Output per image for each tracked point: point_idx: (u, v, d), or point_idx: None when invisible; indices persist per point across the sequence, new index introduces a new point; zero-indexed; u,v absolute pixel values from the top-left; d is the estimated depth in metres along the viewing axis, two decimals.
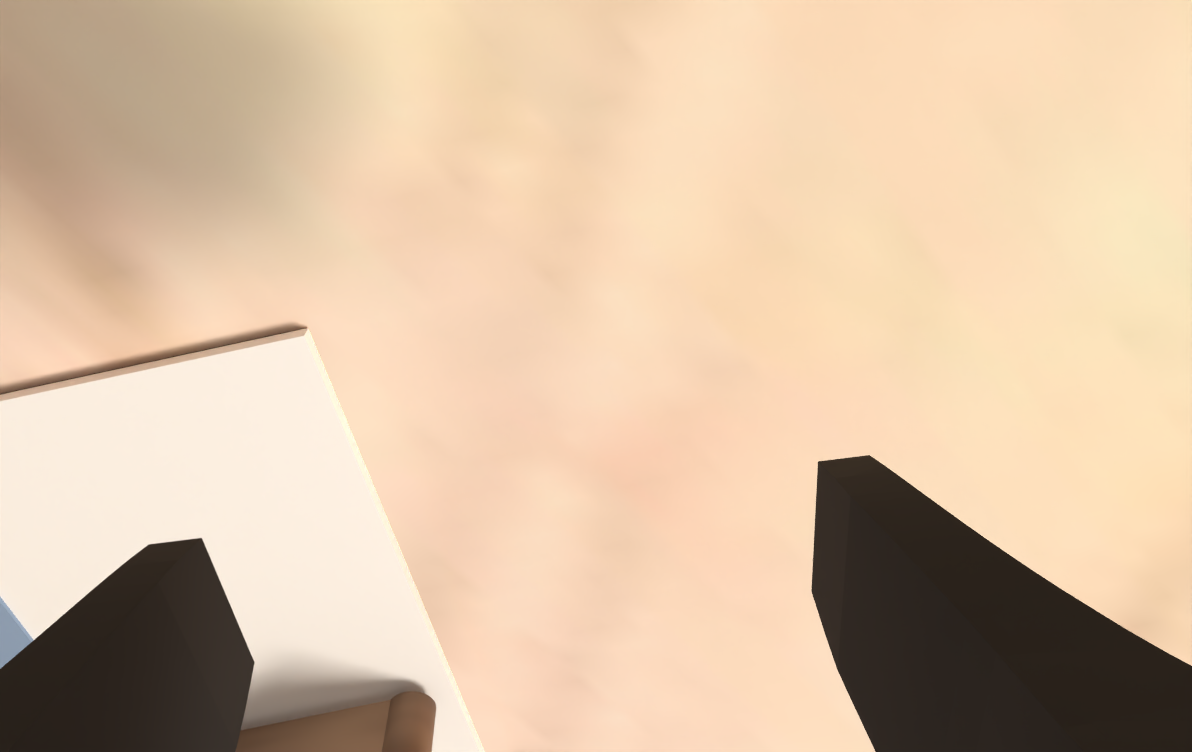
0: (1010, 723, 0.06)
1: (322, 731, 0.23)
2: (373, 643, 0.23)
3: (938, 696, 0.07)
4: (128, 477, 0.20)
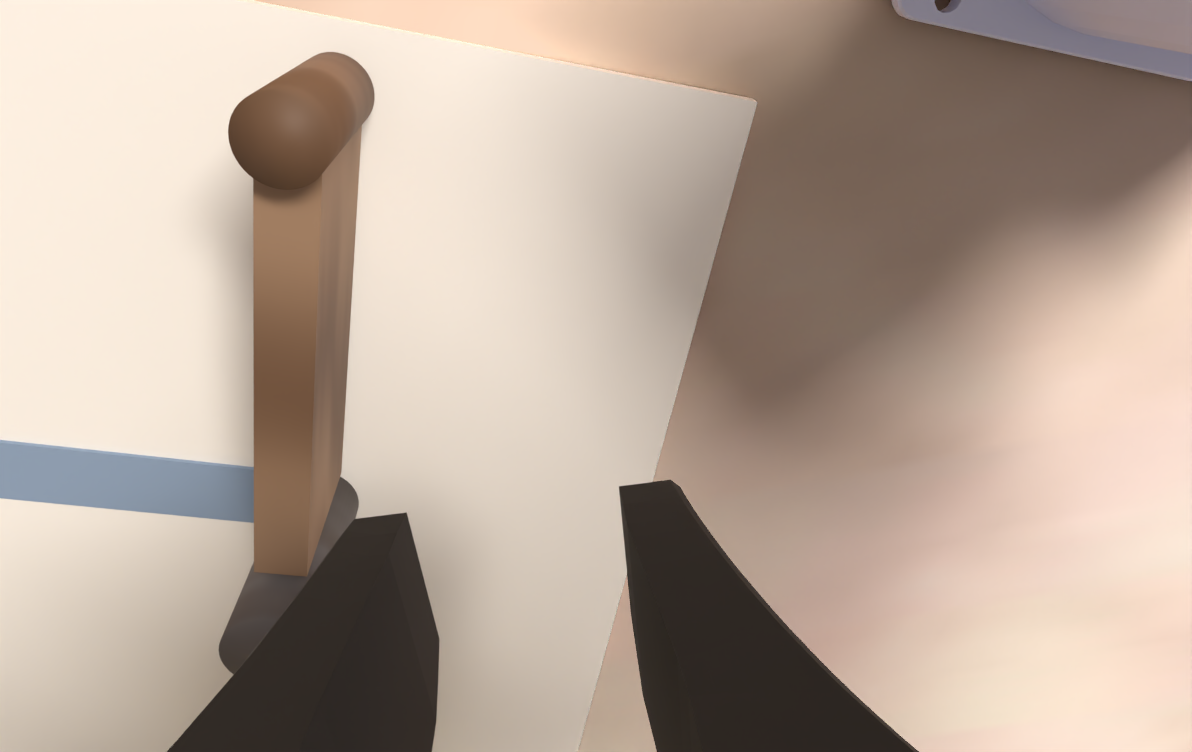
0: None
1: None
2: (206, 87, 0.15)
3: (677, 732, 0.07)
4: None
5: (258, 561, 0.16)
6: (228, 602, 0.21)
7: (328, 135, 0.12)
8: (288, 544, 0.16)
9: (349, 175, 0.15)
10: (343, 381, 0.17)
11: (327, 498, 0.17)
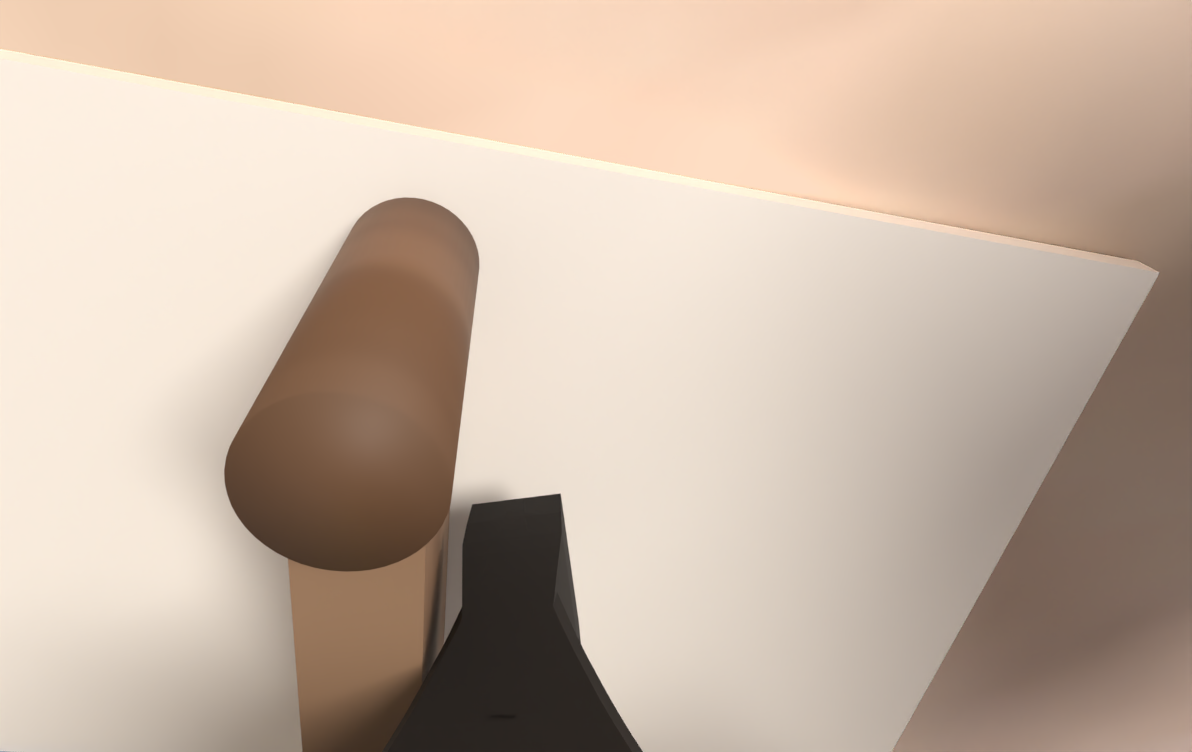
0: None
1: None
2: (265, 258, 0.09)
3: None
4: None
5: None
6: None
7: (446, 465, 0.05)
8: None
9: None
10: None
11: None
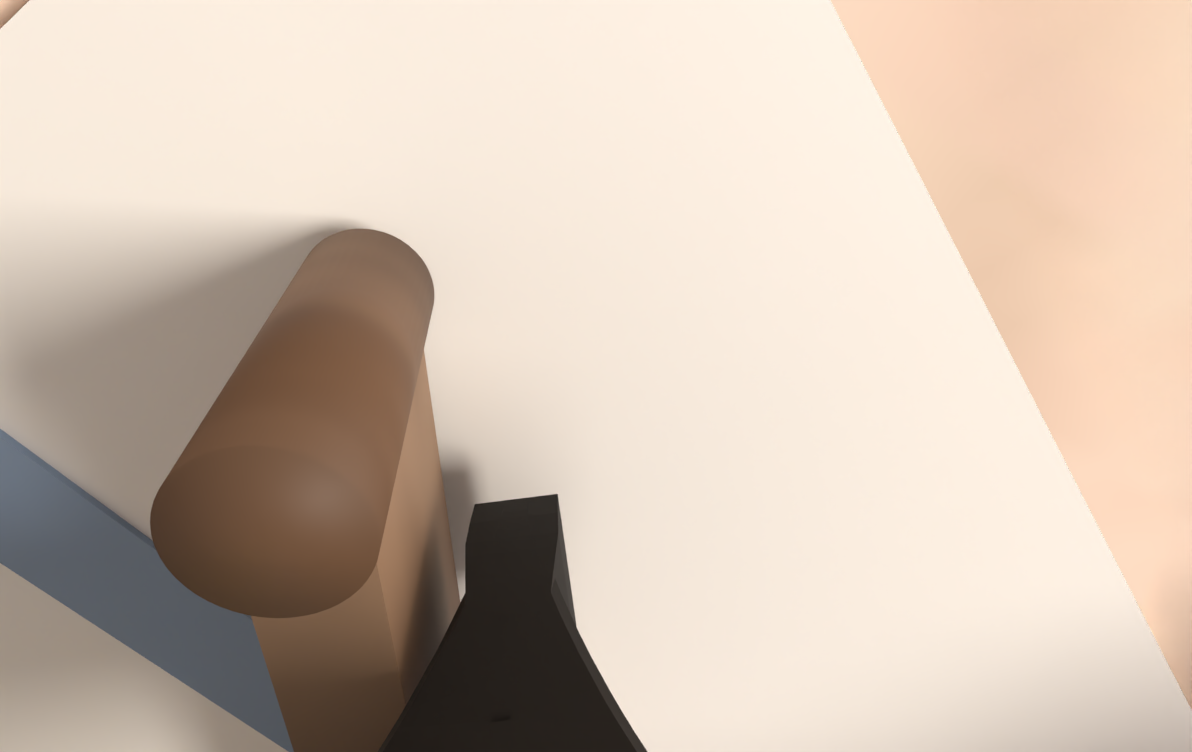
0: None
1: None
2: (901, 432, 0.11)
3: None
4: (297, 183, 0.08)
5: None
6: None
7: (367, 502, 0.05)
8: None
9: (419, 438, 0.08)
10: None
11: None
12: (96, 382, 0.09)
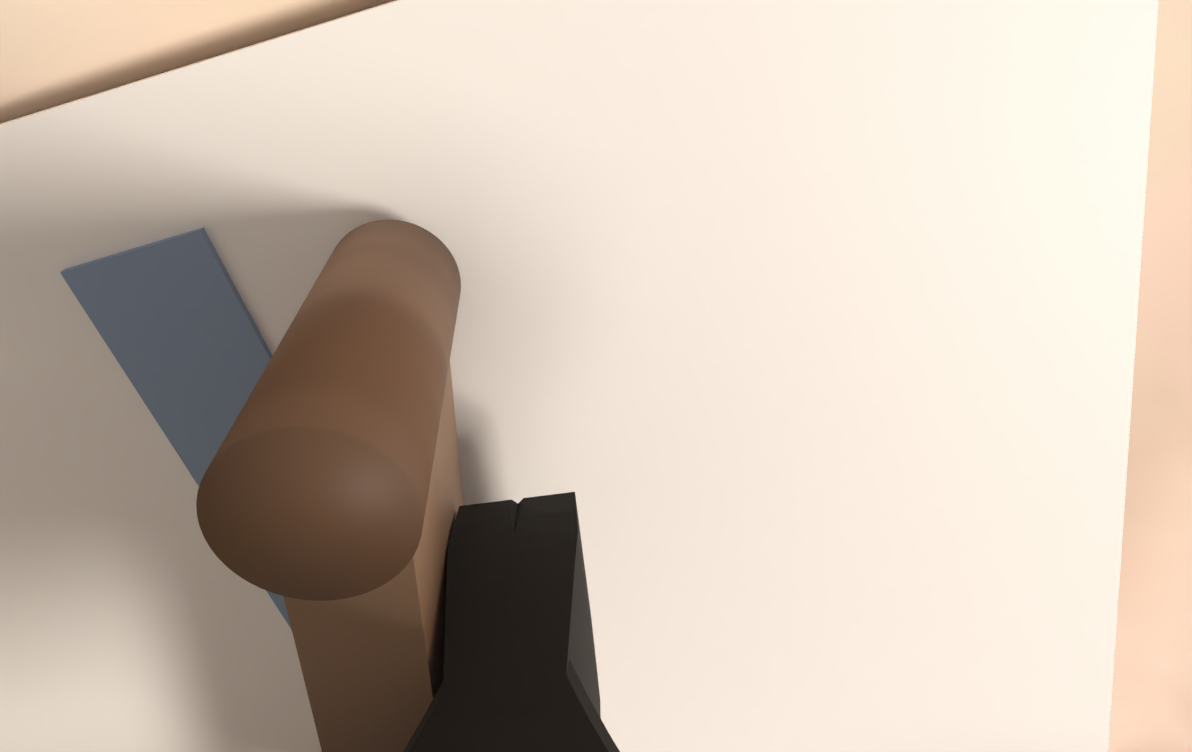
0: None
1: None
2: (1013, 568, 0.12)
3: None
4: (661, 200, 0.09)
5: None
6: None
7: (412, 486, 0.05)
8: None
9: (444, 429, 0.08)
10: None
11: None
12: None
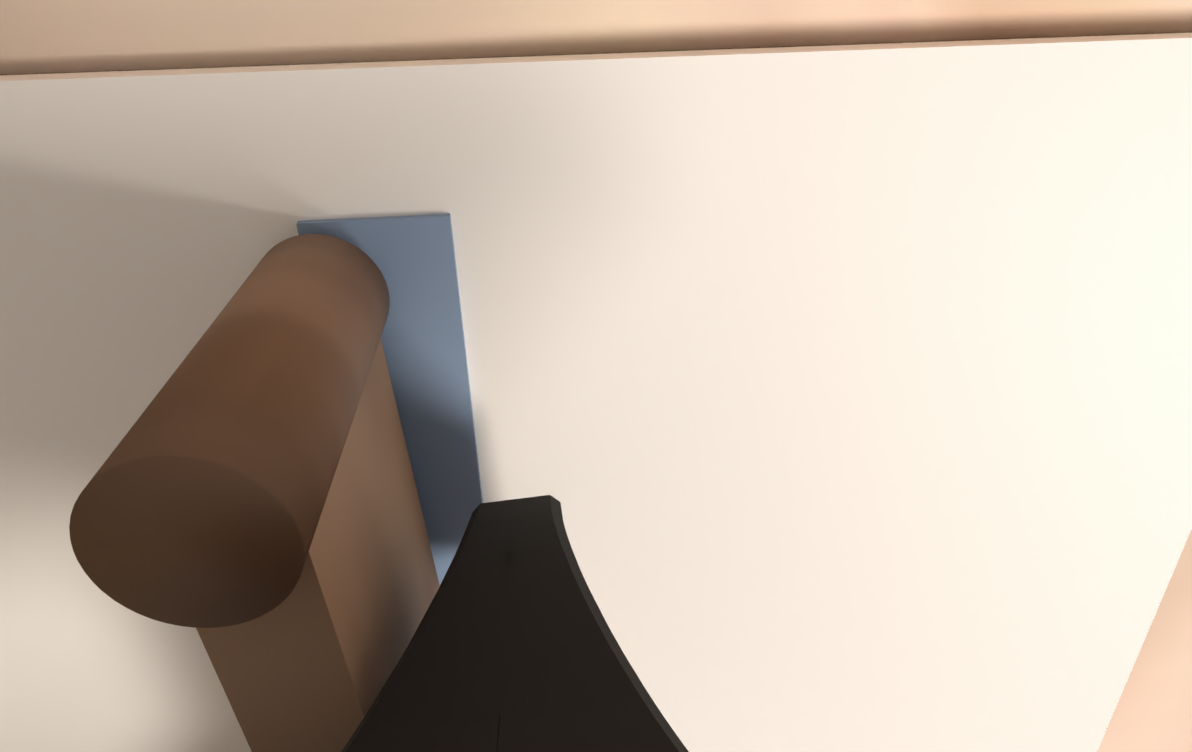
0: None
1: None
2: (1038, 673, 0.13)
3: None
4: (870, 287, 0.10)
5: None
6: (220, 751, 0.12)
7: (286, 508, 0.05)
8: None
9: (378, 441, 0.08)
10: None
11: None
12: (579, 327, 0.10)
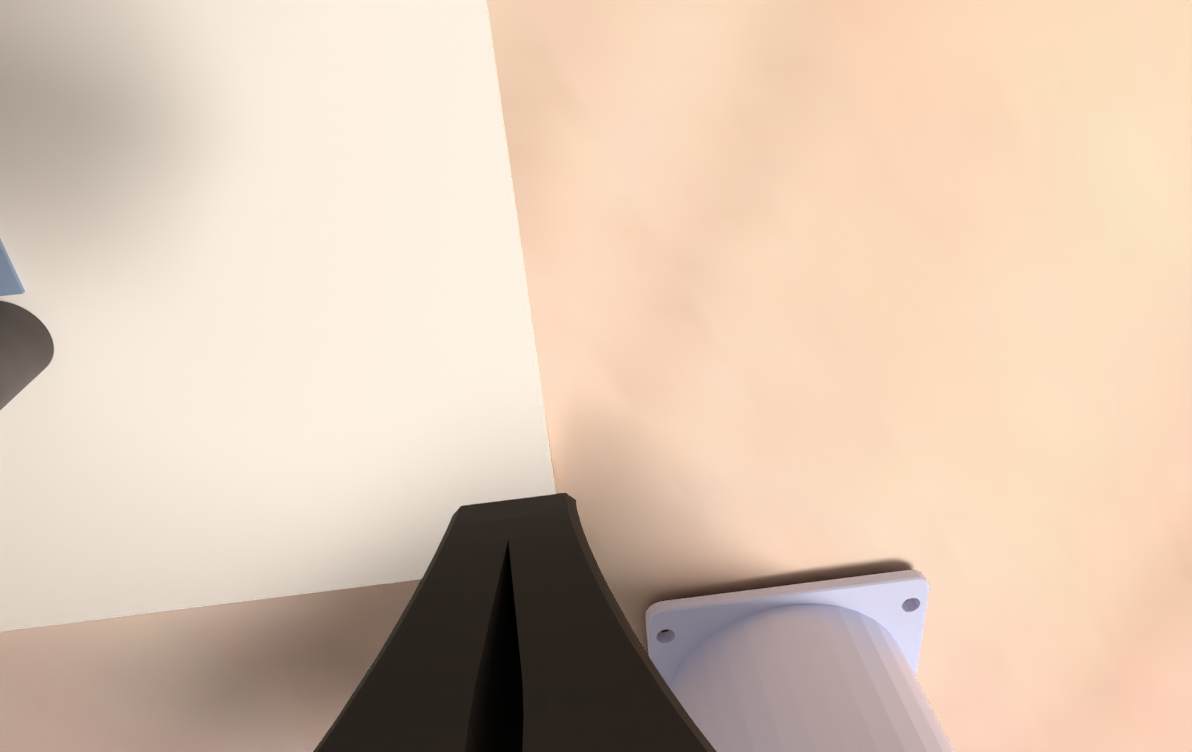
0: None
1: None
2: (428, 178, 0.16)
3: None
4: None
5: None
6: None
7: None
8: None
9: None
10: None
11: None
12: None
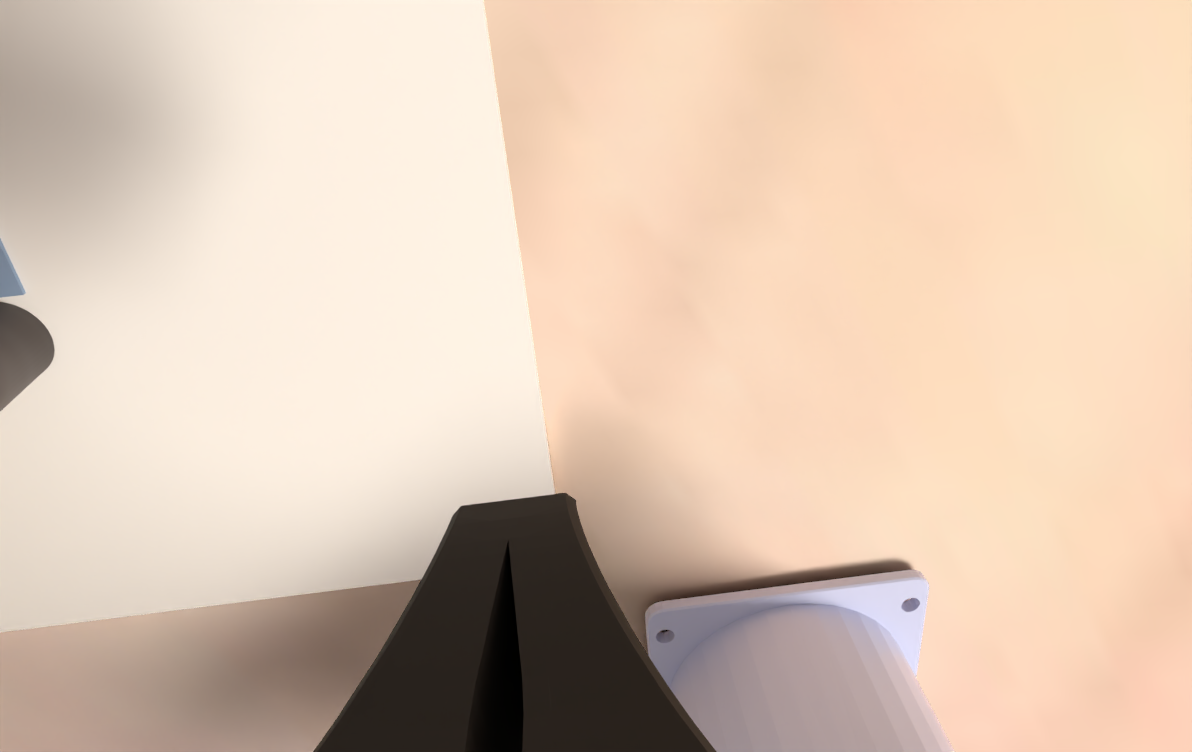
0: None
1: None
2: (427, 179, 0.16)
3: None
4: None
5: None
6: None
7: None
8: None
9: None
10: None
11: None
12: None
